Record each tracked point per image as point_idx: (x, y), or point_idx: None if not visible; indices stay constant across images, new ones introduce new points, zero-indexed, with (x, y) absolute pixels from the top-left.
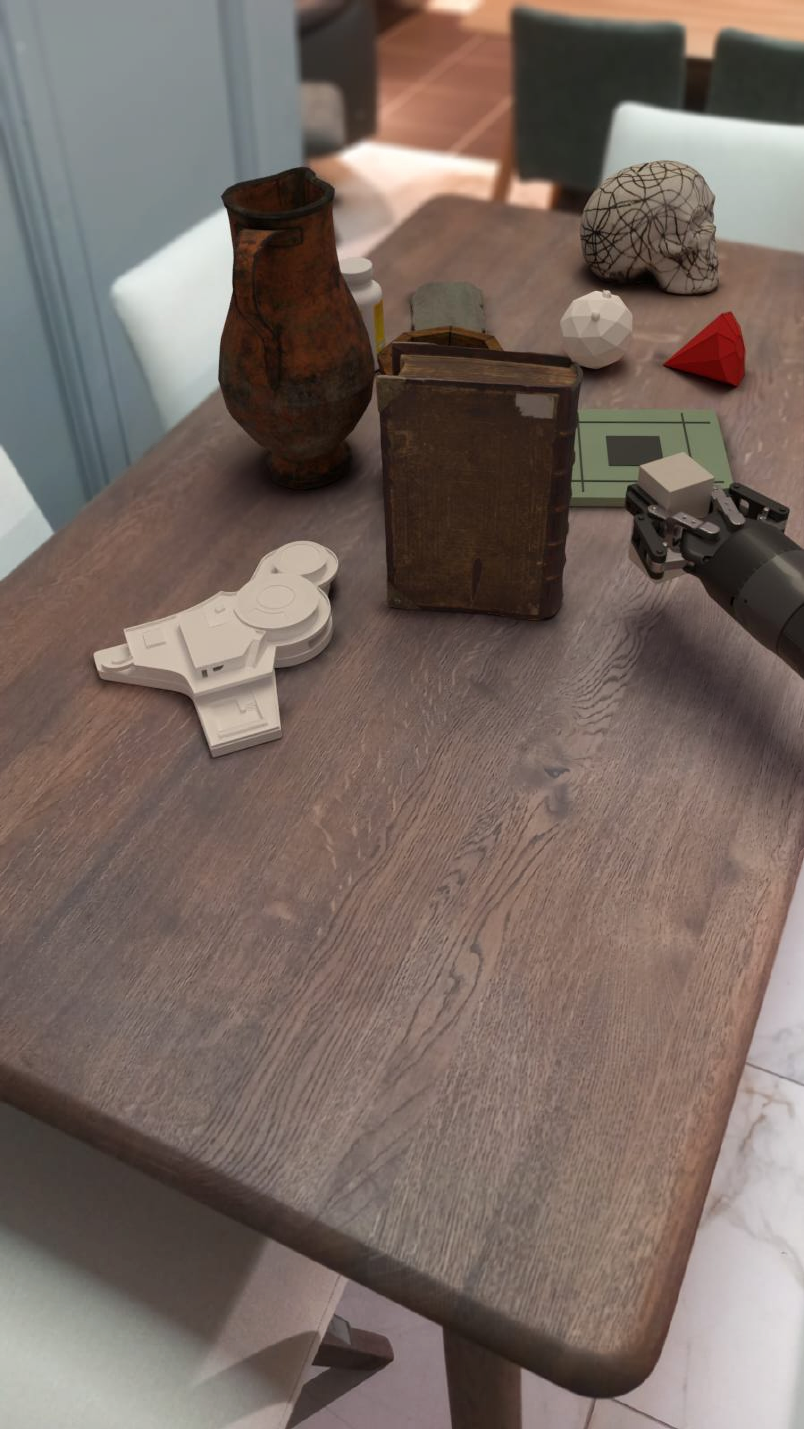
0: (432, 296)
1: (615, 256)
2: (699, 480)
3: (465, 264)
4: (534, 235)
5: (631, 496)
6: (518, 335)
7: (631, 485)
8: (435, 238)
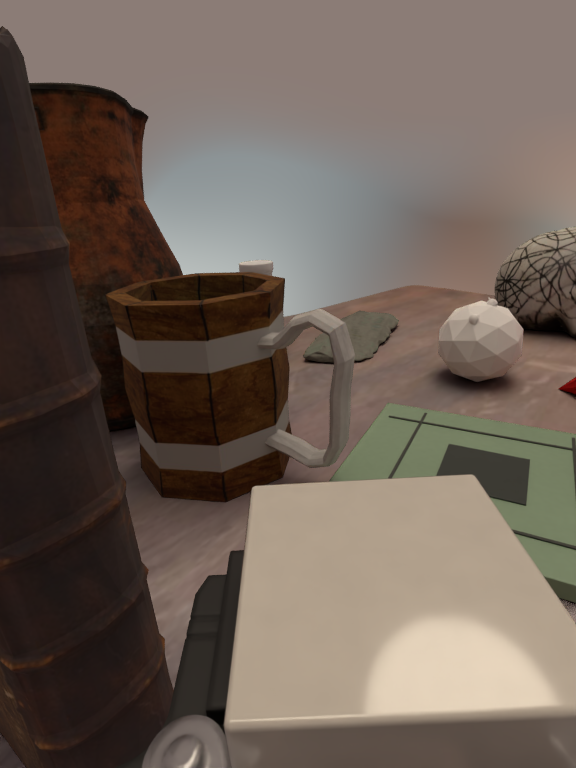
0: (351, 316)
1: (523, 300)
2: (495, 695)
3: (401, 310)
4: (466, 302)
5: (205, 604)
6: (412, 349)
7: (233, 555)
8: (390, 298)
